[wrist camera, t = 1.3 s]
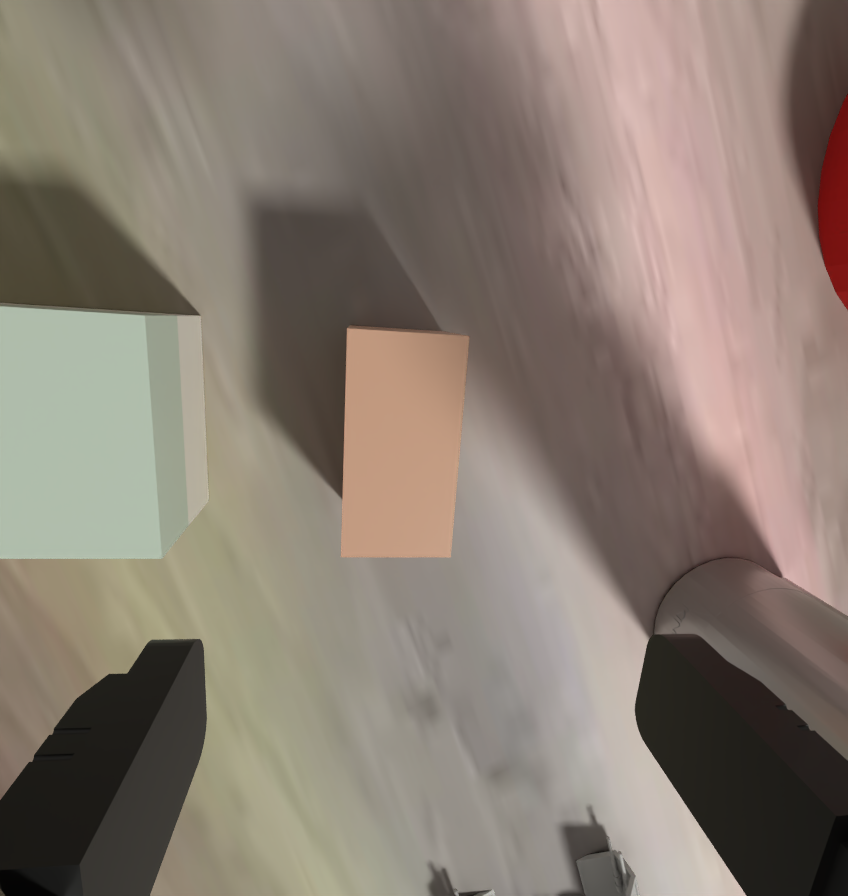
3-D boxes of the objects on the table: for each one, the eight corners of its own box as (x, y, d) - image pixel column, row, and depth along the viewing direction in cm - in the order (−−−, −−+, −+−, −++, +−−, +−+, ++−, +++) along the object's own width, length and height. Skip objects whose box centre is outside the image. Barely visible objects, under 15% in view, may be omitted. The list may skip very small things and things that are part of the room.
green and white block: (200, 315, 25) (144, 315, 19) (208, 500, 28) (161, 558, 21) (-113, 295, 24) (-301, 287, 17) (-75, 495, 26) (-225, 558, 19)
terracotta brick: (441, 331, 27) (469, 336, 21) (429, 502, 30) (450, 557, 23) (349, 325, 27) (347, 328, 20) (344, 501, 29) (341, 557, 22)
